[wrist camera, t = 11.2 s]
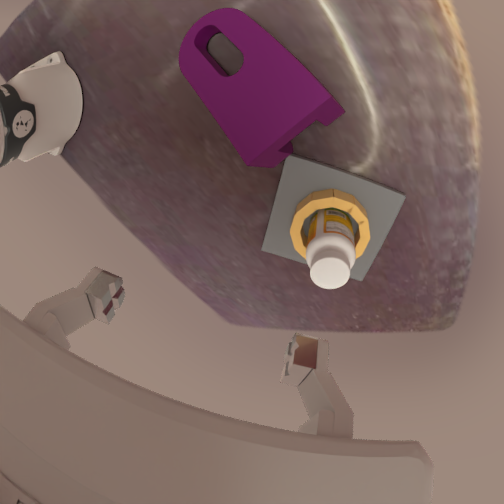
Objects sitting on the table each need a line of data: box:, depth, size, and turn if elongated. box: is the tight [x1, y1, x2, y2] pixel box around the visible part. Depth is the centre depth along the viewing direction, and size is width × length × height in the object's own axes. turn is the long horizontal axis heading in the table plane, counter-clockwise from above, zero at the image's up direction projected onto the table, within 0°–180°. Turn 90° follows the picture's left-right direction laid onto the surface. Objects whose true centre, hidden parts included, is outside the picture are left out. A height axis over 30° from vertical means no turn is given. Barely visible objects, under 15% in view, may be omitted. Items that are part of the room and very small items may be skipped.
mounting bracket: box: [179, 8, 345, 168], centre depth 26 cm, size 9×8×18 cm
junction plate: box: [261, 154, 406, 281], centre depth 34 cm, size 15×14×4 cm
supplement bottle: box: [306, 207, 356, 289], centre depth 31 cm, size 5×5×10 cm
